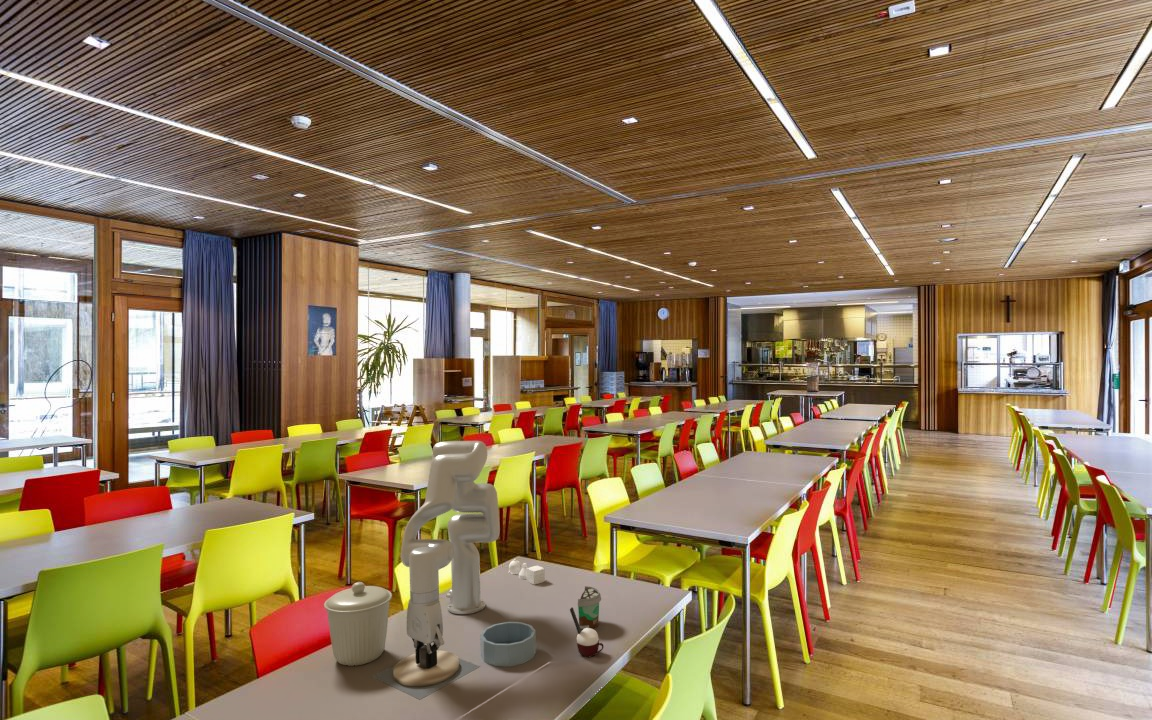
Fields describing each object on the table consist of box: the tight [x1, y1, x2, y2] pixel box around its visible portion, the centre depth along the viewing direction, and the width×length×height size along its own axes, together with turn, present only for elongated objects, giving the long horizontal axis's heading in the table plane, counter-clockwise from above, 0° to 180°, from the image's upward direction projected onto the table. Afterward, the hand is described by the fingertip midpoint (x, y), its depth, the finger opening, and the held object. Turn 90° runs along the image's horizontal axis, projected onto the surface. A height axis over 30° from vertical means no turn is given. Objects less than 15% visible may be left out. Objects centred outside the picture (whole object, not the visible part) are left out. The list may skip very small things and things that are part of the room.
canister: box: [323, 581, 393, 667], centre depth 171 cm, size 18×18×21 cm
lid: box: [393, 644, 459, 687], centre depth 161 cm, size 17×17×6 cm
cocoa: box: [569, 607, 605, 658], centre depth 170 cm, size 10×6×12 cm, turn 46°
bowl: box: [479, 621, 537, 667], centre depth 170 cm, size 15×15×6 cm
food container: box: [577, 585, 602, 631], centre depth 189 cm, size 12×6×10 cm, turn 168°
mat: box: [371, 657, 481, 701], centre depth 161 cm, size 20×20×1 cm
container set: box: [508, 558, 546, 585], centre depth 235 cm, size 20×5×6 cm, turn 37°
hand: (426, 663), depth 161 cm, fingers closed on lid, 3 cm apart
